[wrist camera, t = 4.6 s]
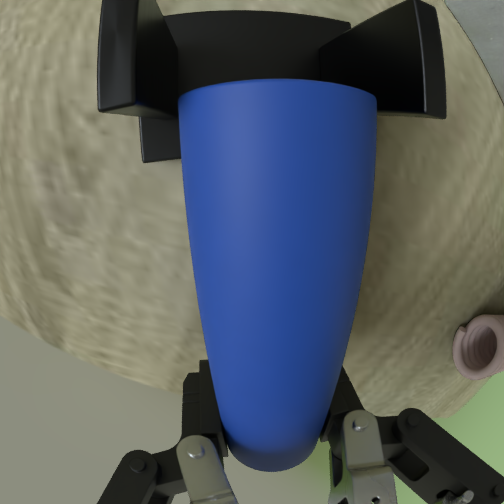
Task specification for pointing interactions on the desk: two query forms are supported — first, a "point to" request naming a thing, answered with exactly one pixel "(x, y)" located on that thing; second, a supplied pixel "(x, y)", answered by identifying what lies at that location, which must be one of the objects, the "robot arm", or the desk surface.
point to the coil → (480, 347)
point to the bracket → (261, 60)
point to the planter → (484, 33)
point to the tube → (277, 250)
